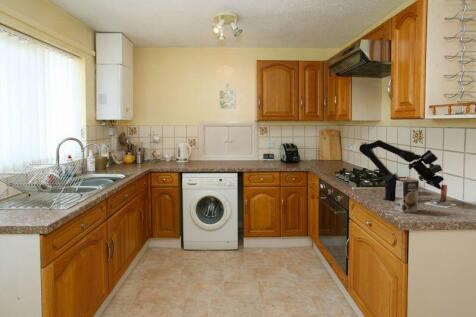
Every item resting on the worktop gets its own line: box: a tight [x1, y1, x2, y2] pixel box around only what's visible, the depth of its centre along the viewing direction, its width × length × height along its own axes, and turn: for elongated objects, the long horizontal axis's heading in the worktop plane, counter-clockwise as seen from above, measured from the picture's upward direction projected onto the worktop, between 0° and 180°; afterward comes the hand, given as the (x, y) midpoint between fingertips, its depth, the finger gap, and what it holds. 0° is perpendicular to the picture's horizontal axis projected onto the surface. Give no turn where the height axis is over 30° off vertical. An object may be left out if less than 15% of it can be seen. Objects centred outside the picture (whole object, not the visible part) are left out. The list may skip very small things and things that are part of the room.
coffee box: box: [394, 180, 420, 214], centre depth 179 cm, size 9×6×16 cm
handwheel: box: [429, 184, 451, 205], centre depth 194 cm, size 11×10×10 cm
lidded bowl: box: [400, 176, 419, 181], centre depth 224 cm, size 13×13×11 cm
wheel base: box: [423, 201, 457, 209], centre depth 194 cm, size 12×12×1 cm
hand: (440, 188), depth 197 cm, fingers closed
